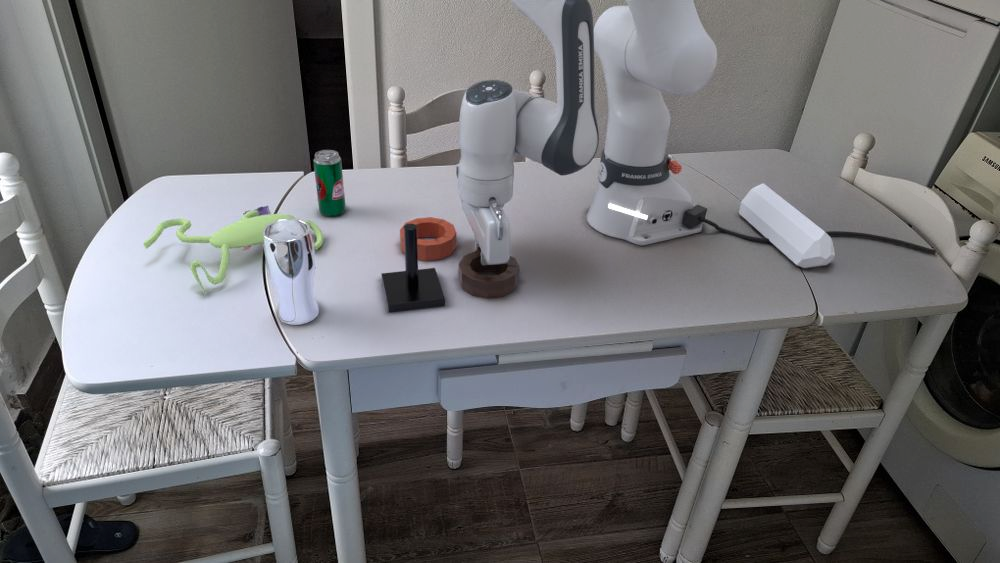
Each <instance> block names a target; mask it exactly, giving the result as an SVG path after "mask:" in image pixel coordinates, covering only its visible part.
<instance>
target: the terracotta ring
mask: <svg viewBox="0 0 1000 563" xmlns="http://www.w3.org/2000/svg"><path fill="white" fill-rule="evenodd" d="M406 224H415V225H416V226H417V244H418V261H424V262H431V261H439V260H442V259H446V258H447V257H449V256H452V254H453V253H454V252H455V249H456V248H457V230H456V227H455V226H454V224H453V223H451V222H449V221H448V220H446V219H444V218H438V217H432V216H429V217H428V216H427V217H417V218H414V219H411V220H409V221H407V222H405V223H404V224H403V225H402V226H401V228H400V229H399V243H400V248H401V251H402V254H404V255H405V243H404V226H405V225H406ZM423 238H432V239H423Z"/></svg>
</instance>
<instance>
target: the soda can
mask: <svg viewBox="0 0 1000 563" xmlns="http://www.w3.org/2000/svg"><path fill="white" fill-rule="evenodd" d="M312 162H313V163H312V164H313V169H314V170H313V172H314V180H315V187H316V188H315V189H316V195H317V203H318V204H317V205H318V211H319V213H320V214H321V215H322V216H325V217H328V218H329V217H331V218H333V217H339V216H342V215H343V214H344V212H346V210H347V205H346V196H345V195H346V194H345V186H344V185H345V184H344V175H343V166H342V165H343V164H342V163H343V162H342V157H341V156H340V155H339V152H338V151H336V150H332V149H322V150H319V151H316V152H315V154H314V158H313V160H312Z"/></svg>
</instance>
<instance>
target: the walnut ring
mask: <svg viewBox="0 0 1000 563" xmlns="http://www.w3.org/2000/svg"><path fill="white" fill-rule="evenodd" d="M480 252H481V250H477V251H476V250H473V251H471V252H469V253H467V254H464V255H463V256H462V258H461V259H460V261H459V263H458V274H457V275H458V283H459V285H460V288H461V289H462V290H463V291H464V292H467V293H468V294H470V295H471V296H474V297H479V298H484V299H492V298H493V299H494V298H501V297H505V296H507V295H509V294H510V293H512V292H515V290H516V288H517V286H518V283H519V277H520V265H519V263H518V261H517V259H516V257H514V256H512V255H510V258H509V261H508V262H507V263H504V264H495V265H482V264H481V261H480ZM487 271H490V272H496V273H499V274H493V275H485V274H480V273H479V272H487Z"/></svg>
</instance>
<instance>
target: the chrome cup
mask: <svg viewBox="0 0 1000 563" xmlns="http://www.w3.org/2000/svg"><path fill="white" fill-rule="evenodd" d="M305 221H306V220H302V219H299V218H296V219H281V220H277V221H274V222H271V223H269V224H268V225H266V226H265V227H264V229H263V232H262V233H263V242H264V243H263V251H264V258H265V263H266V268H267V270H268V273H269V276H270V278H271V281H272V284H273V286H274V288H275V291H276V295H277V299H278V314H277V315H278V318H279V320H280V321H281V322H282V323H284V324H285V325H290V326H300V325H302V326H303V325H305V324H308V323H311V322H312V321H314V320H316V318H317V317H318V316H319V313H320V308H319V304H318V302H317V301H318V300H317V299H316V295H315V277H316V253H315V251H316V250H314V240H313V236H312V233H311V228H310V226H309V224H308V223H306V222H305Z"/></svg>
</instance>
